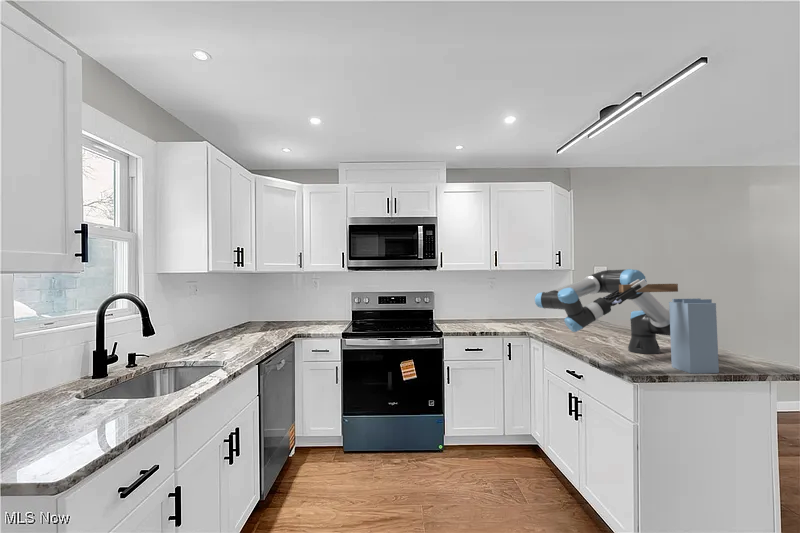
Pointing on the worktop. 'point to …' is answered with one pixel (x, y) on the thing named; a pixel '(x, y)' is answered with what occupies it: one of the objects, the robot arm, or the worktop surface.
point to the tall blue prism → (694, 335)
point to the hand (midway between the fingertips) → (642, 281)
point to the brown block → (652, 288)
